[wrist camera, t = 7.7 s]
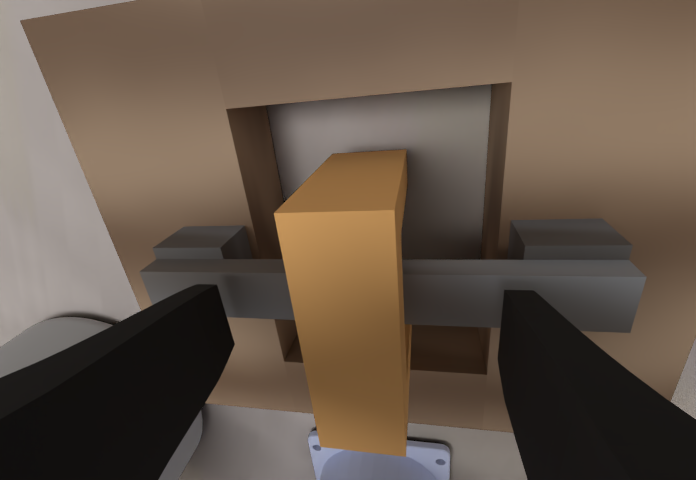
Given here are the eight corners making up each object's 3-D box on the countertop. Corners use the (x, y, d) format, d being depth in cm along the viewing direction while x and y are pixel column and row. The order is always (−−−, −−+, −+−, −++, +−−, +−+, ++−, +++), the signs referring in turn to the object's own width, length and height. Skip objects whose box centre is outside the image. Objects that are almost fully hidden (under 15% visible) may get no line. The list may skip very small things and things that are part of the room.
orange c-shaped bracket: (411, 328, 15) (406, 456, 10) (352, 326, 16) (320, 447, 11) (406, 149, 12) (394, 210, 7) (332, 153, 12) (274, 213, 8)
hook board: (615, 382, 16) (698, 521, 11) (210, 356, 20) (143, 449, 15) (748, -75, 9) (1103, -224, 4) (99, 28, 13) (-83, 10, 9)
